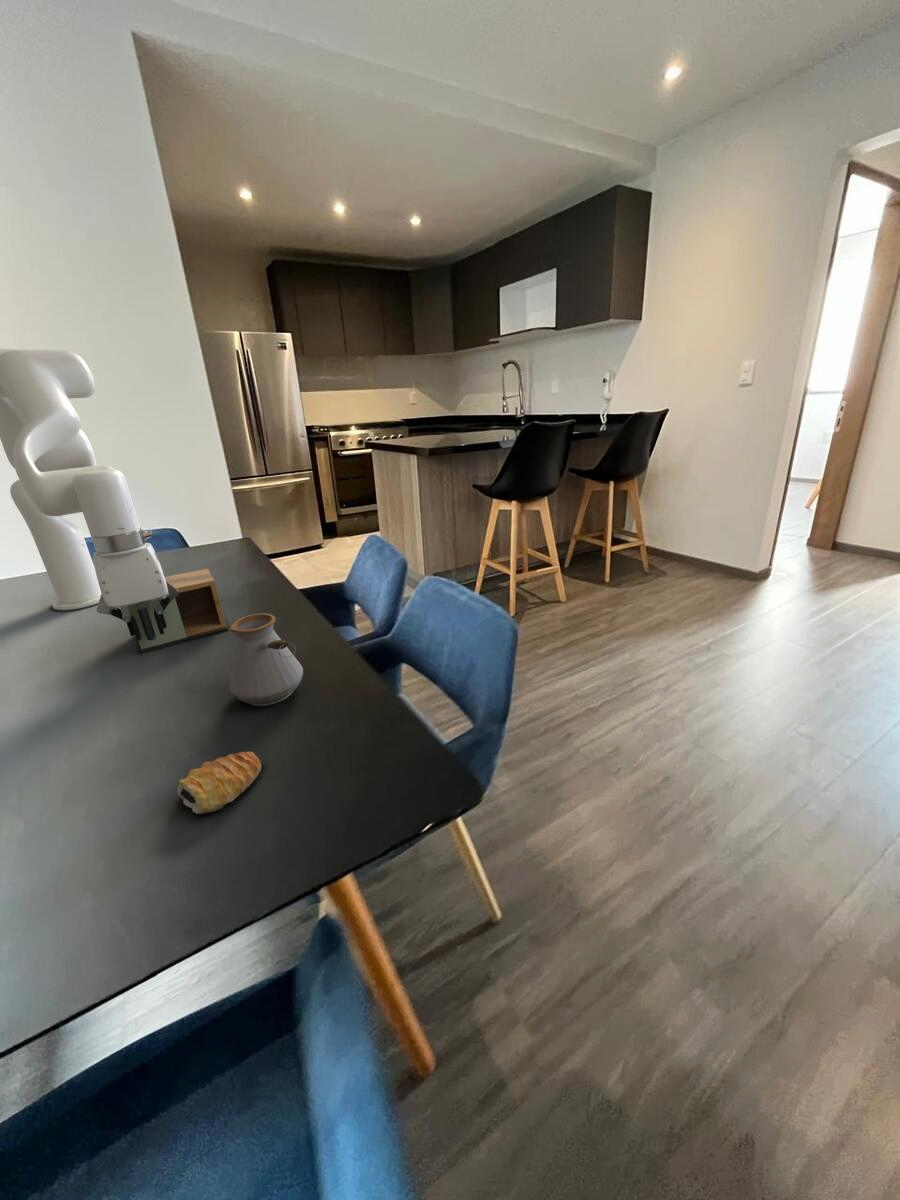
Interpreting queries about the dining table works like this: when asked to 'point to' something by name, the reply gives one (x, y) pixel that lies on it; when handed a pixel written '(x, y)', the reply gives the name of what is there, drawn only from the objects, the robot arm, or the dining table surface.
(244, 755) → the pastry
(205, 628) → the cabinet
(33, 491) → the robot arm
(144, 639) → the sliding door
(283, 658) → the coffee pot
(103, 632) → the dining table surface
